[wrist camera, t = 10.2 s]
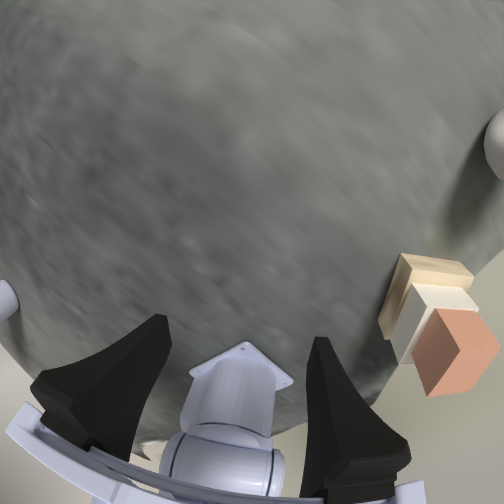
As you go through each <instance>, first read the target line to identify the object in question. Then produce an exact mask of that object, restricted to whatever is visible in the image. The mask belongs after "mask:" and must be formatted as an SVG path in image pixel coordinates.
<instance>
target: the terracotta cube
mask: <svg viewBox="0 0 504 504" xmlns="http://www.w3.org/2000/svg"><path fill="white" fill-rule="evenodd" d="M499 349H500V346H499V344H498V342H497V341H496V339H495V338H494V336H493V335H492V333H491V332H490V331H489V329H488V328H487V326H486V325H485V323H484V322H483V321H482V319H481V318H480V317H479V315H478V314H477V313H476V311H474V310H458V309H444V308H435V309H434V311H433V313H432V315H431V317H430V319H429V321H428V323H427V325H426V327H425V329H424V331H423V333H422V335H421V337H420V339H419V341H418V342H417V344H416V346H415V348H414V349H413V351H412V353H411V355H412V358H413V360H414V363H415V365H416V368H417V371H418V373H419V376H420V379H421V381H422V384H423V387H424V390H425V393H426V396H427V397H432V396H440V395H448V394H455V393H461V392H467V391H469V390H470V389H471V388H472V387H473V385H474V384H475V383H476V382H477V380H478V379H479V378H480V376H481V375H482V374H483V372H484V371H485V370H486V368H487V367H488V366H489V364H490V363H491V361H492V360H493V358H494V357H495V355H496V354H497V352H498V351H499Z"/></svg>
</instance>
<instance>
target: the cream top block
mask: <svg viewBox="0 0 504 504" xmlns="http://www.w3.org/2000/svg"><path fill="white" fill-rule="evenodd" d="M435 308H444V309H458V310H474V311H476V313H477V312H478V310H479V308H478V307H477V306H476V304H475V303H474V302H473V301H472V299H471V298H470V297H469V296H468V295H467V293H466V292H465V291H464V290H463V288H458V287H447V286H437V285H426V284H416V283H412V284H411V287H410V290H409V292H408V295H407V298H406V300H405V303H404V305H403V308H402V310H401V313H400V315H399V317H398V320H397V322H396V324H395V326H394V329H393V331H392V333H391V335H390V341H391V344H392V347H393V350H394V353H395V355H396V358H397V361H398V364H415V363H414V360H413V358H412V355H411V353H412V351H413V349H414V348H415V346H416V344H417V342H418V341H419V339H420V337H421V335H422V333H423V331H424V329H425V327H426V325H427V323H428V321H429V319H430V317H431V315H432V313H433V311H434V309H435Z"/></svg>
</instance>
